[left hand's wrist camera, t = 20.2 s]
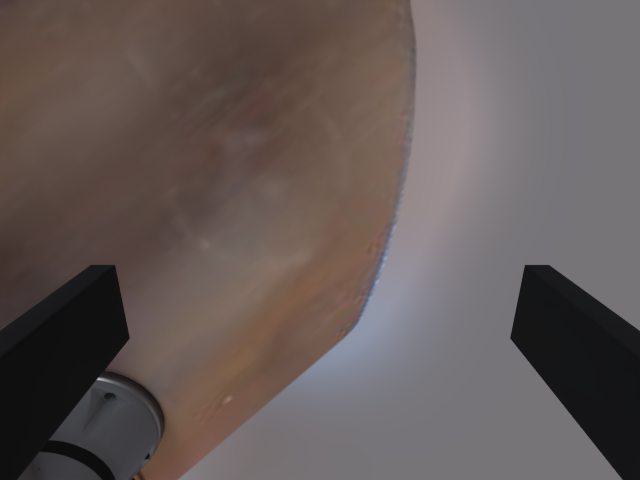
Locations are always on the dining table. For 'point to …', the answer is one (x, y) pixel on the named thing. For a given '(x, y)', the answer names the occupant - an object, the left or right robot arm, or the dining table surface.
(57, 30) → the dining table surface
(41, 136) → the dining table surface
